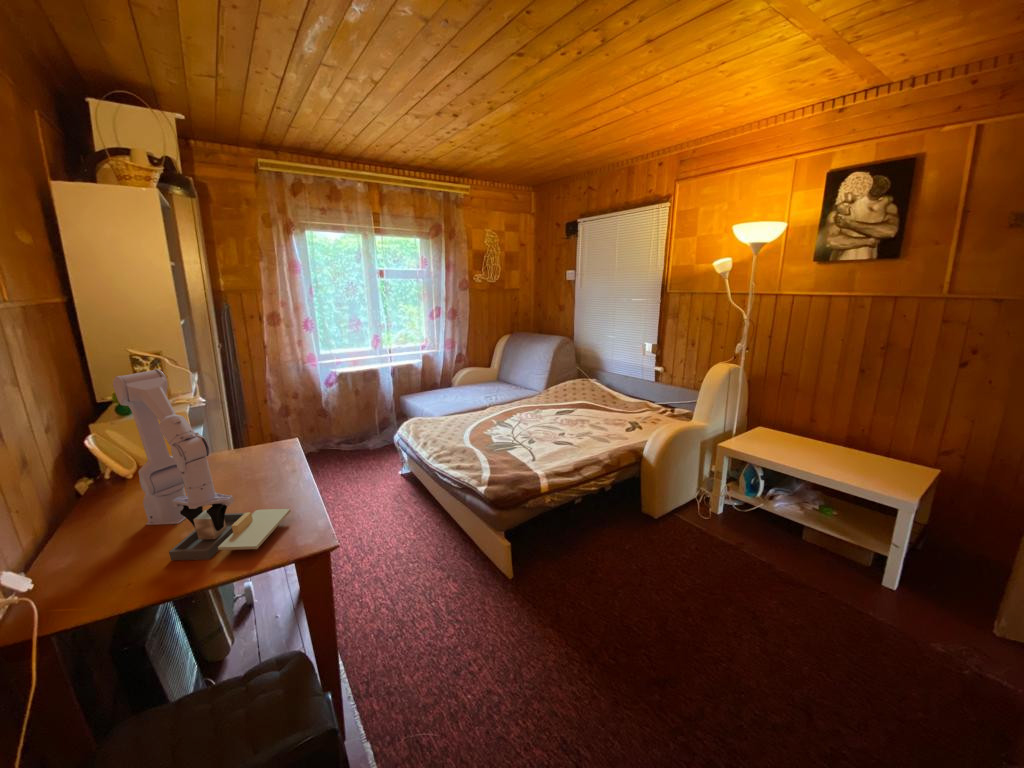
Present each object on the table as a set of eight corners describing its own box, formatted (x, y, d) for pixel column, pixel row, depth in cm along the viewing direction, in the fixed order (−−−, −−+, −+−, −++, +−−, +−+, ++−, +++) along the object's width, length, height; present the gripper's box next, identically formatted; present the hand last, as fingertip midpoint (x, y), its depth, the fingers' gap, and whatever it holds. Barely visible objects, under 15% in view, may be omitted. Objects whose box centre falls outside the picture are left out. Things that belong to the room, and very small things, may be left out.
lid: (218, 550, 104) (215, 538, 103) (257, 512, 120) (255, 501, 119) (257, 548, 104) (254, 537, 103) (290, 511, 120) (288, 500, 119)
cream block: (198, 539, 110) (193, 519, 109) (210, 529, 115) (205, 509, 113) (215, 539, 110) (210, 519, 109) (226, 528, 115) (222, 509, 113)
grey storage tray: (171, 560, 105) (168, 551, 104) (216, 521, 121) (214, 513, 120) (209, 559, 105) (207, 550, 104) (249, 520, 121) (247, 512, 120)
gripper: (158, 491, 104) (171, 539, 108) (216, 490, 104) (228, 537, 108) (179, 477, 111) (191, 522, 115) (234, 476, 111) (244, 521, 115)
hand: (210, 528), depth 112 cm, fingers closed on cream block, 4 cm apart
